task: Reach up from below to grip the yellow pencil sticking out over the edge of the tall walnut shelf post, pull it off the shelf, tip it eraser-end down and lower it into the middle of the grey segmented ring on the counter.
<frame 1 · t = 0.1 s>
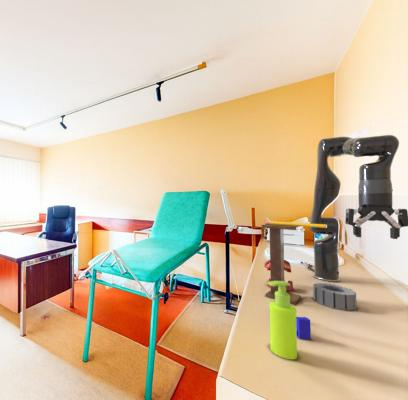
hand: (375, 237, 76), 29 cm above the counter, tool pointing down, fingers open, 8 cm apart
cable clip: (290, 328, 72), on the counter
grey segmented ring: (333, 303, 88), on the counter
soap dispenser: (281, 352, 61), on the counter
shelf post: (283, 297, 94), on the counter
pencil: (293, 225, 91), point 32 cm above the counter, touching shelf post
anatomical model: (280, 287, 105), on the counter
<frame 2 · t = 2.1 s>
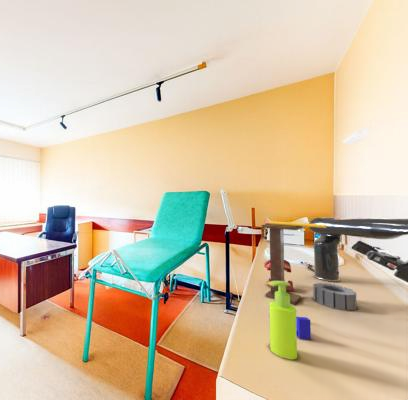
hand: (354, 244, 77), 27 cm above the counter, tool pointing upward, fingers open, 8 cm apart
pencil: (293, 225, 91), point 32 cm above the counter, tilted 27°, touching shelf post
everything else where it was.
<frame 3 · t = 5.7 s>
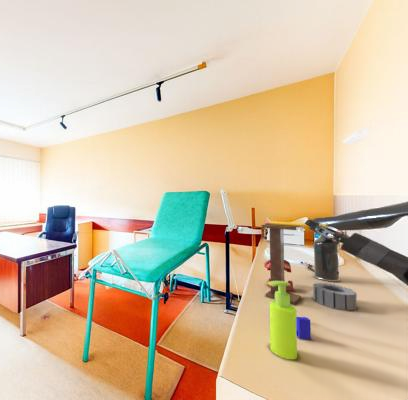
hand: (307, 221, 87), 34 cm above the counter, tool pointing upward, fingers closed
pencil: (293, 225, 91), point 32 cm above the counter, tilted 19°, touching gripper, shelf post
everything else where it was.
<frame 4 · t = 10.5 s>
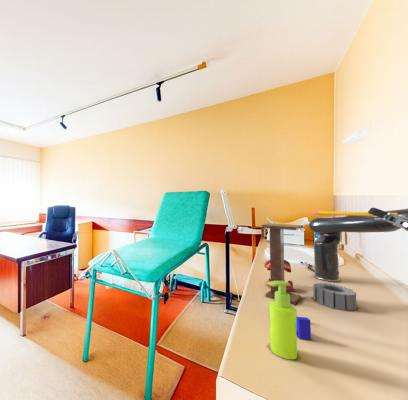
hand: (370, 209, 74), 39 cm above the counter, tool pointing upward, fingers closed on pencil, 1 cm apart
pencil: (351, 215, 78), point 37 cm above the counter, tilted 7°, touching gripper
everything else where it was.
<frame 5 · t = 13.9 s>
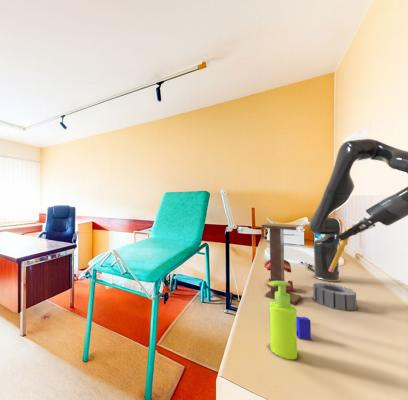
hand: (340, 238, 86), 27 cm above the counter, tool tilted 45°, fingers closed on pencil, 1 cm apart
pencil: (343, 250, 86), point 22 cm above the counter, tilted 73°, touching gripper
everything else where it was.
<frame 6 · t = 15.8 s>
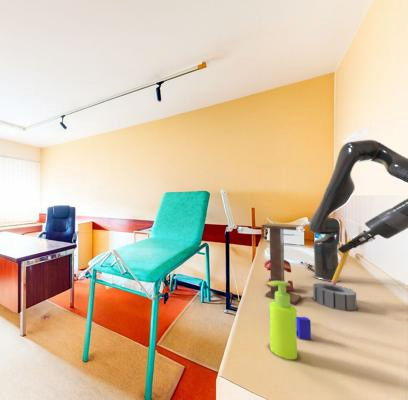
hand: (340, 250, 87), 22 cm above the counter, tool tilted 45°, fingers closed on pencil, 1 cm apart
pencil: (344, 263, 86), point 17 cm above the counter, tilted 75°, touching gripper
everything else where it was.
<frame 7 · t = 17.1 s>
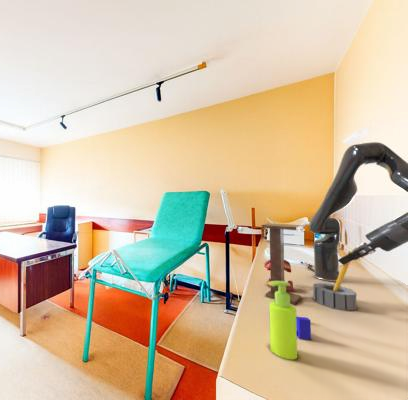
hand: (341, 262, 87), 18 cm above the counter, tool tilted 45°, fingers closed on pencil, 1 cm apart
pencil: (344, 274, 86), point 13 cm above the counter, tilted 75°, touching gripper
everything else where it was.
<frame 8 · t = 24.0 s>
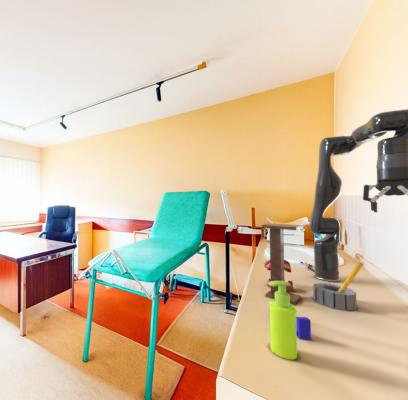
hand: (394, 212, 76), 38 cm above the counter, tool pointing down, fingers open, 8 cm apart
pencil: (349, 284, 85), point 9 cm above the counter, tilted 66°, touching grey segmented ring
everything else where it was.
at the end: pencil 4.4 cm from the grey segmented ring (horizontally); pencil tilted 66°; the gripper is holding nothing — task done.
